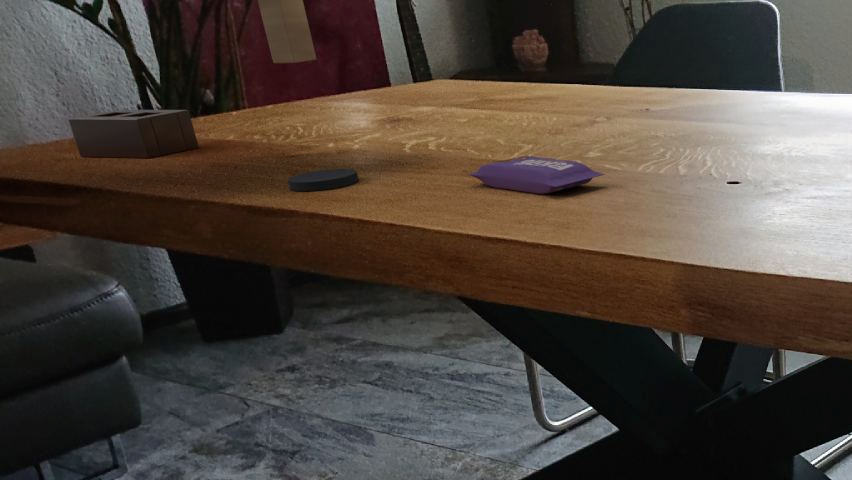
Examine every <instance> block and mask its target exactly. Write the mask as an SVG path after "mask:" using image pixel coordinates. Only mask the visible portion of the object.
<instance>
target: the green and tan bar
mask: <svg viewBox="0 0 852 480" xmlns="http://www.w3.org/2000/svg"><path fill="white" fill-rule="evenodd" d="M257 3H258V7H259V11H260V15H261V19H262V24H263V27H264V32H265V36H266V39H267V44H268V47H269V51H270V55H271V59H272V63H273V64H298V63H305V62H310V61H311V62H312V61H316V60H317V55H316V50H315V46H314V42H313V39H312V34H311V30H310V25H309V21H308V17H307V13H306V8H305V4H304V0H257Z"/></svg>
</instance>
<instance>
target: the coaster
mask: <svg viewBox="0 0 852 480" xmlns="http://www.w3.org/2000/svg"><path fill="white" fill-rule="evenodd" d="M358 182H359V175H358V172H357V170H356V169H352V168H331V169H329V168H328V169H322V170H315V171H308V172H303V173H299V174H296V175H292V176H291V177H288V178H287V183H288V188H289V189H290V191H295V192H317V191H327V190H334V189H339V188H343V187H347V186H351V185H354V184H356V183H358Z"/></svg>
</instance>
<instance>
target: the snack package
mask: <svg viewBox="0 0 852 480" xmlns="http://www.w3.org/2000/svg"><path fill="white" fill-rule="evenodd" d="M605 175H606V174H605V173H603V172H599V171H598V172H597V171H595V170H592V168H590V167H589V166H587V165H586V164H584V163H581V162H579V161H574V160H570V159H569V160H568V159H556V158H549V157H538V156H533V155H525V156H518V157H514V158H509V159H505V160H500V161H496V162H495V161H494V162H491V163H487V164H483V165H481V166H480V167H479V168H478V169H477V171H475V172H472V173H467V176H470V177H473V178H476V179H477V180H479V181H480V182H482V183H483V184H485V185H488V187H489V186H490V187H492V188H496V189H503V190H512V191H516V192H517V191H518V192H526V193H530V194H531V193H532V194H538V195H539V194H540V195H545V194H551V193H555V192H558V191H563V190H567V189H572V188H575V187H579V186H582V185H586V184H588V183H590V182H591V181H592V180H593V179H594V178H597V177H602V176H605Z"/></svg>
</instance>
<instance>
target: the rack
mask: <svg viewBox="0 0 852 480" xmlns="http://www.w3.org/2000/svg"><path fill="white" fill-rule="evenodd" d="M67 120H68V122H69V126H70V129H71V133H72V135H73V139H74V141H75V144H76V147H77V150H78V153H79V156H80V157H82V158H83V157H85V158H88V157H89V158H117V159H119V158H123V159H125V158H126V159H152V158H157V157H162V156H166V155H167V156H168V155H171V154H177V153H181V152H185V151H191V150H195V149H199V148H200V145H199V143H198V139H197V136H196V135H197V134H196V132H195V128H194V125H193V122H192V118H191V114H190V111H189V109H117V110H112V111H111V110H110V111H105V112H100V113H93V114H87V115H82V116H75V117H70V118H68V119H67Z"/></svg>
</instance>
